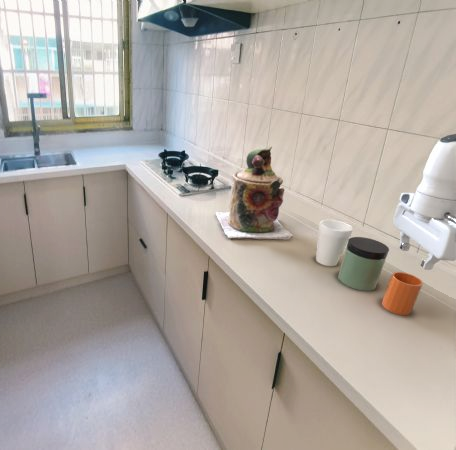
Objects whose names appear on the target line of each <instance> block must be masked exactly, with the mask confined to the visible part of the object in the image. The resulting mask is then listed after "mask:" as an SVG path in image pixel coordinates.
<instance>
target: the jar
mask: <svg viewBox="0 0 456 450" xmlns="http://www.w3.org/2000/svg"><path fill="white" fill-rule="evenodd" d="M345 247H346V248H345V250H344V254H343V258H342V261H341V265H340V268H339V271H338V276H337V278H338V280H339V281H340V282H341V283H342V284H343V285H345V286H347V287H348V288H351V289H355V290H358V291H364V292H365V291H366V292H368V291H369V292H370V291H374V290H375V289H376V288H377V285H378V282H379V280H380V276H381V274H382V271H383V268H384V265H385V263H386V260H387V257H386V258H384V259H369V258H365V257H361V256H358V255H356V254H354V253H352V252H351V251H349V250H348V249H347V246H345Z"/></svg>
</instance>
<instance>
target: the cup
mask: <svg viewBox="0 0 456 450" xmlns="http://www.w3.org/2000/svg"><path fill="white" fill-rule="evenodd" d="M422 287H423V281H422V280H421V279H420V278H419V277H417V276H416V275H413V274H411V273H407V272H403V271H395V272H392V274H391V276H390V278H389V281H388V284H387V286H386V289H385V292H384V295H383V298H382V300H381V305H382V307H383V308H384V309H385V310H387V311H388V312H391V313H393V314H394V315H395V314H396V315H398V316H408V315H410V314H411V313H412V311H413V309H414V306H415V304H416V301H417V299H418V296H419V294H420V291H421V289H422Z"/></svg>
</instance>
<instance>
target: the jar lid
mask: <svg viewBox="0 0 456 450" xmlns="http://www.w3.org/2000/svg"><path fill="white" fill-rule="evenodd" d="M346 247H347V249H348V250H349V251H351V252H352V253H354V254H356V255H358V256H361V257H365V258H369V259H384V258H386V259H387V257H388V254H389V252H390V248H389V246H387V245H386V244H385V243H384V242H381V241H379V240H376V239H373V238H369V237H363V236H353V237H352V236H351V237H349V239H348V241H347V244H346Z"/></svg>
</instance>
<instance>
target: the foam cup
mask: <svg viewBox="0 0 456 450" xmlns="http://www.w3.org/2000/svg"><path fill="white" fill-rule="evenodd" d="M353 228H354V227H353V226H352V225H351V224H349V223H347V222H344V221H341V220H338V219H329V218H328V219H322V220H320V221H319V224H318V228H317V232H318V233H317V243H316V244H317V245H316V253H315V260H316V262H317V263H319V264H320V265H323V266H326V267H335V266H337V264H338V263H339V260H341V259H340V258H341V256H342V254H343V252H344V251H345V249H346V248H345V247H347V243H348V240H349V239H350V238H352V233H353Z"/></svg>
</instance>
